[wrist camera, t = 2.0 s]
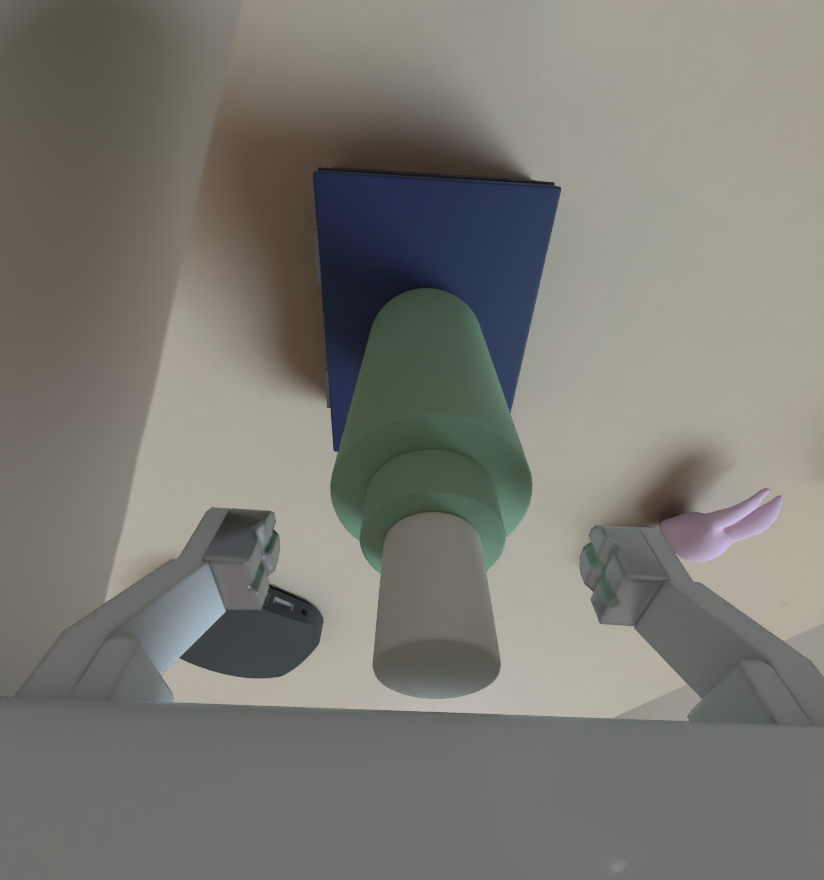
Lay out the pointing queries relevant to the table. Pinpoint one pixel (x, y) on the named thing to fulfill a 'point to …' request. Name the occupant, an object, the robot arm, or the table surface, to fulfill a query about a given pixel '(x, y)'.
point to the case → (427, 260)
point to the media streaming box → (259, 639)
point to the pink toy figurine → (719, 527)
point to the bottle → (431, 492)
